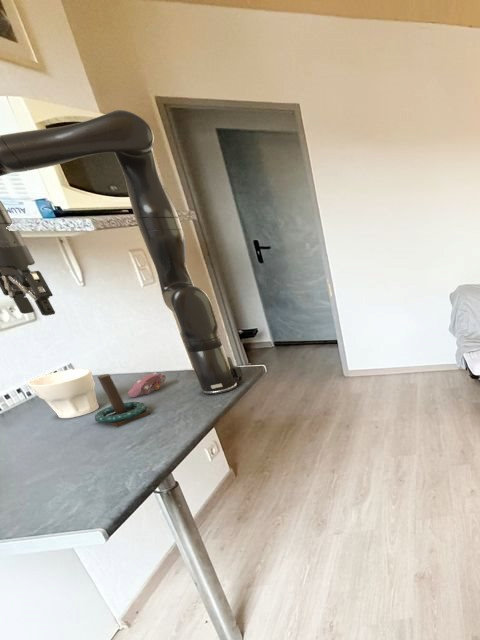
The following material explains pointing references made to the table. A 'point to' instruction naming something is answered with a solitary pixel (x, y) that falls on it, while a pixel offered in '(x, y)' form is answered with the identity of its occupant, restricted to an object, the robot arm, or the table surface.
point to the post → (116, 401)
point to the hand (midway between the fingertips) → (38, 313)
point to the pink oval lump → (147, 384)
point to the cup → (67, 392)
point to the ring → (103, 417)
